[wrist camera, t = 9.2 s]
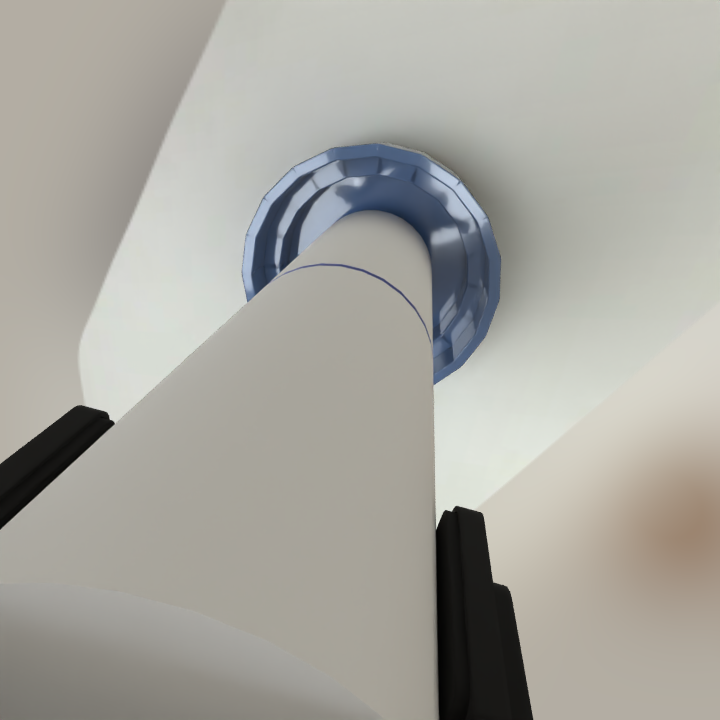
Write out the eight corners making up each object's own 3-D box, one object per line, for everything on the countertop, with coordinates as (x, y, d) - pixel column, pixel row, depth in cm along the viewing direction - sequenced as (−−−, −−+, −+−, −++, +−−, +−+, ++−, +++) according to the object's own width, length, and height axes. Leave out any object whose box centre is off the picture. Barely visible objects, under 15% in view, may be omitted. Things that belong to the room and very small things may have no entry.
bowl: (287, 117, 27) (259, 113, 23) (524, 176, 27) (543, 184, 23) (257, 334, 34) (231, 364, 29) (449, 385, 33) (453, 423, 29)
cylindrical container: (416, 195, 26) (341, 547, 4) (442, 313, 29) (487, 927, 6) (297, 228, 28) (-246, 608, 5) (332, 337, 31) (68, 890, 8)
